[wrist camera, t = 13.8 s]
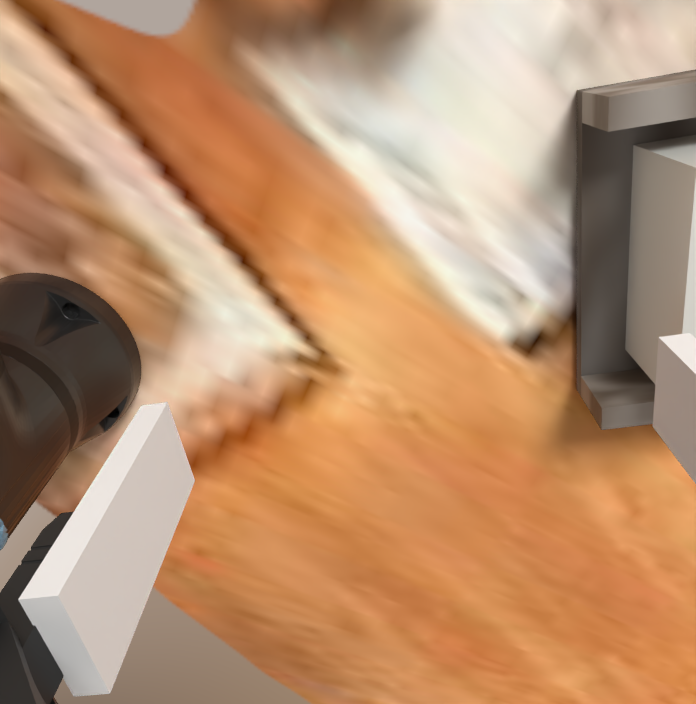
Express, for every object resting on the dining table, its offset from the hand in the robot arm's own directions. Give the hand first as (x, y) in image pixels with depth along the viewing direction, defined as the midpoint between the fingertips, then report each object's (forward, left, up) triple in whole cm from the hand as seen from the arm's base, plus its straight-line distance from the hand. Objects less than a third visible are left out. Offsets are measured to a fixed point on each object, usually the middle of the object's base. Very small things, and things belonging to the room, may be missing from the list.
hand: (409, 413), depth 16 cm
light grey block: (+20, -8, -30) cm, 37 cm away
